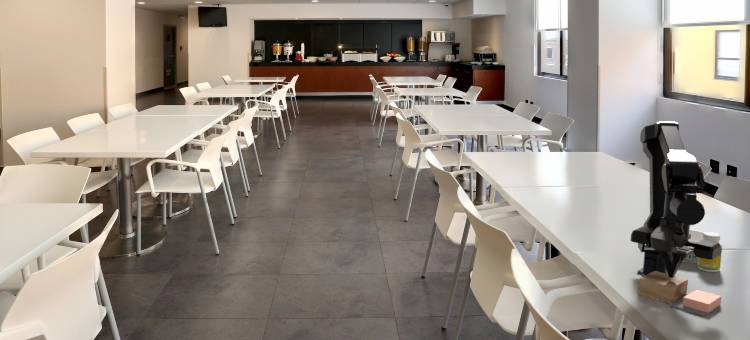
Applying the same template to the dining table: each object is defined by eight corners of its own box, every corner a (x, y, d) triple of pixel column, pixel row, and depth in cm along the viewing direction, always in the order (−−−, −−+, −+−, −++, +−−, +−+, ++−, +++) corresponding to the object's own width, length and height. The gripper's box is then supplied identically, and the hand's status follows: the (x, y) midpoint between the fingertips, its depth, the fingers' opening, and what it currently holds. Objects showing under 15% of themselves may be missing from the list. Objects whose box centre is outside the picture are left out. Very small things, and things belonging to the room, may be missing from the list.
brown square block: (653, 286, 161) (654, 270, 160) (686, 295, 155) (688, 279, 154) (638, 294, 155) (639, 278, 155) (671, 304, 150) (673, 287, 149)
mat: (686, 296, 154) (687, 294, 154) (720, 305, 149) (720, 303, 149) (669, 306, 148) (670, 304, 148) (704, 316, 143) (704, 314, 143)
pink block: (721, 296, 148) (720, 304, 148) (696, 289, 152) (695, 297, 152) (708, 304, 143) (707, 312, 144) (683, 297, 147) (682, 305, 148)
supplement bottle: (720, 273, 169) (724, 237, 168) (698, 271, 171) (701, 235, 170) (718, 267, 174) (722, 232, 172) (696, 264, 176) (699, 230, 174)
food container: (666, 261, 179) (668, 238, 178) (662, 248, 190) (664, 227, 189) (714, 266, 175) (717, 243, 174) (707, 253, 186) (709, 231, 185)
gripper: (622, 211, 151) (617, 275, 154) (706, 228, 138) (698, 297, 141) (643, 203, 159) (638, 264, 162) (725, 218, 145) (718, 284, 149)
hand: (671, 277), depth 153 cm, fingers closed
